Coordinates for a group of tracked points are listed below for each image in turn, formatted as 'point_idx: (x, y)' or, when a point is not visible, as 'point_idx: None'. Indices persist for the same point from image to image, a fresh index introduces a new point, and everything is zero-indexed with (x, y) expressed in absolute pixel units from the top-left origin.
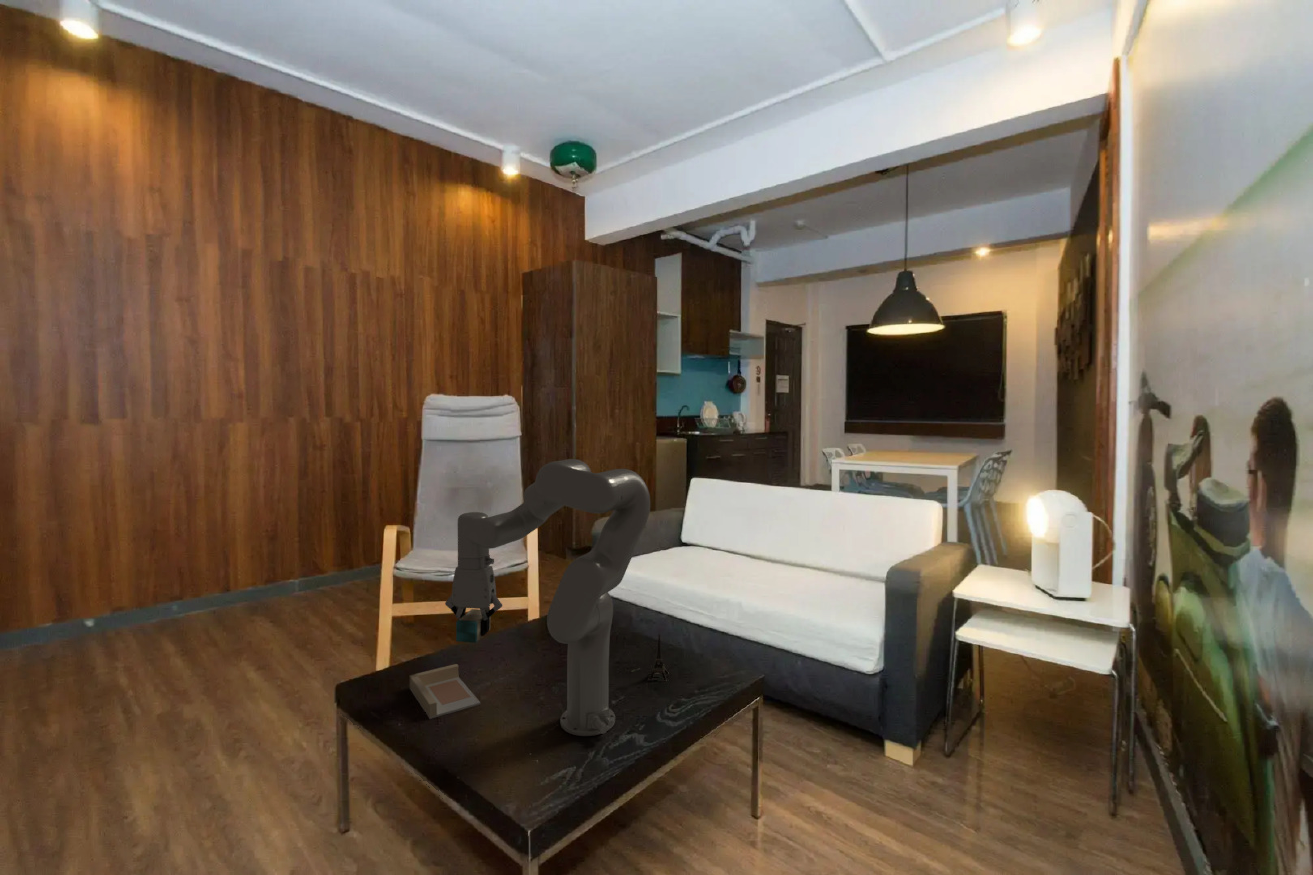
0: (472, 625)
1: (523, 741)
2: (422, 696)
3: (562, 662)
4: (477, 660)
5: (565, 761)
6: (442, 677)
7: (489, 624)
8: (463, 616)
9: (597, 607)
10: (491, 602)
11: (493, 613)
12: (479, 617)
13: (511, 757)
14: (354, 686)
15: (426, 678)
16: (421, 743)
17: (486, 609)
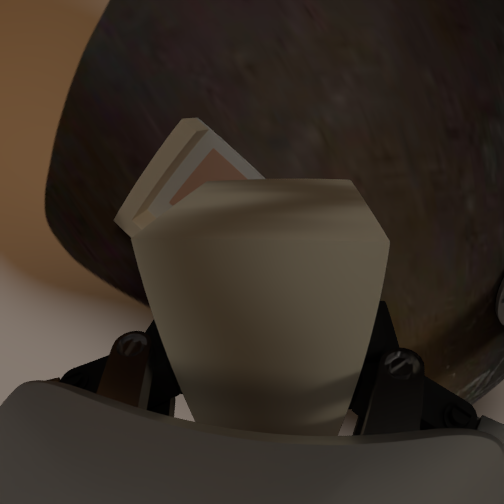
0: None
1: (440, 348)
2: None
3: (457, 6)
4: (203, 12)
5: (482, 367)
6: (176, 165)
7: (391, 321)
8: (190, 398)
9: None
10: (453, 441)
11: (445, 395)
12: (327, 411)
13: None
14: (53, 222)
15: (148, 200)
16: None
17: (384, 424)
